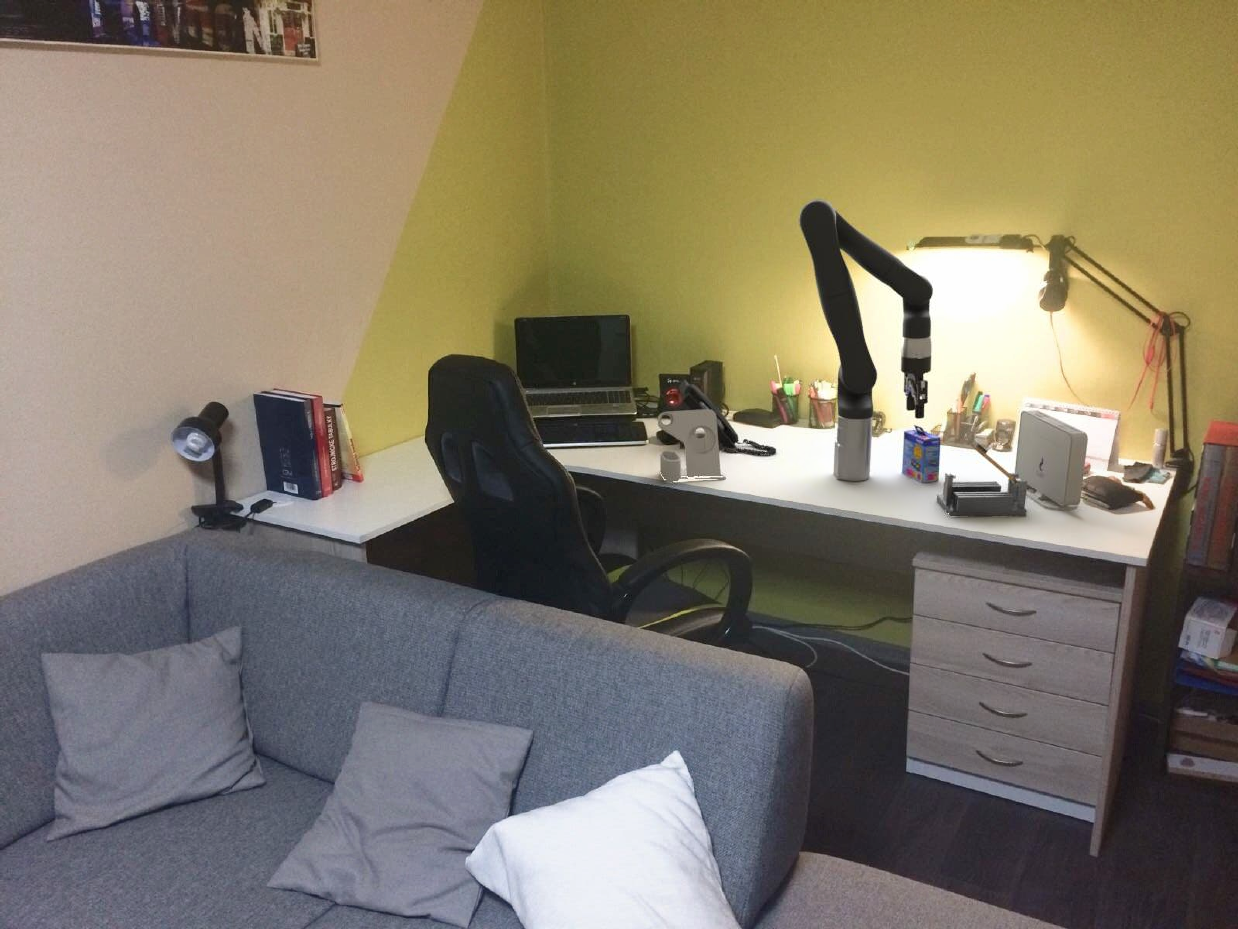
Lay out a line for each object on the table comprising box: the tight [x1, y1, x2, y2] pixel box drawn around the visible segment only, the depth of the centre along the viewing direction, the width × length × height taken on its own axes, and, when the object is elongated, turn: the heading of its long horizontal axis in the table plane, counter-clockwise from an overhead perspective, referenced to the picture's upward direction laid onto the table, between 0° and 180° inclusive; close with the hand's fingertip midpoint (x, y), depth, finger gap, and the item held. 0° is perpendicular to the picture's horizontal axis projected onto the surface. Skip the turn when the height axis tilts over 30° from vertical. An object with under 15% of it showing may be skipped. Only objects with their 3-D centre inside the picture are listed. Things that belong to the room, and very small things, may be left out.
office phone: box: [678, 379, 777, 457], centre depth 298 cm, size 29×28×20 cm
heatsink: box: [936, 471, 1028, 518], centre depth 238 cm, size 18×12×9 cm, turn 88°
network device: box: [1014, 409, 1089, 511], centre depth 244 cm, size 26×9×20 cm, turn 5°
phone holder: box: [657, 409, 727, 484], centre depth 267 cm, size 17×10×18 cm, turn 99°
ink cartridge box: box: [901, 424, 942, 483], centre depth 263 cm, size 10×6×14 cm, turn 19°
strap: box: [970, 440, 1020, 487], centre depth 236 cm, size 16×4×2 cm
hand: (915, 414), depth 257 cm, fingers open, 8 cm apart
